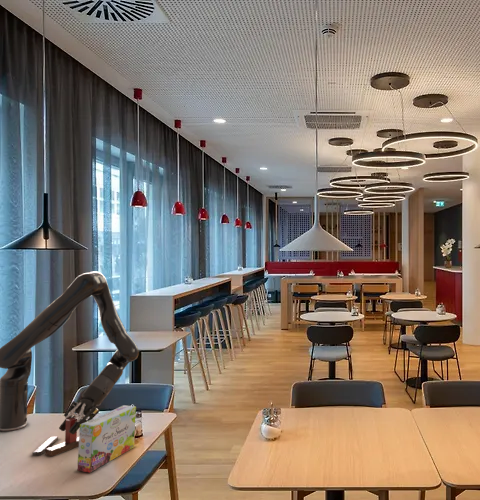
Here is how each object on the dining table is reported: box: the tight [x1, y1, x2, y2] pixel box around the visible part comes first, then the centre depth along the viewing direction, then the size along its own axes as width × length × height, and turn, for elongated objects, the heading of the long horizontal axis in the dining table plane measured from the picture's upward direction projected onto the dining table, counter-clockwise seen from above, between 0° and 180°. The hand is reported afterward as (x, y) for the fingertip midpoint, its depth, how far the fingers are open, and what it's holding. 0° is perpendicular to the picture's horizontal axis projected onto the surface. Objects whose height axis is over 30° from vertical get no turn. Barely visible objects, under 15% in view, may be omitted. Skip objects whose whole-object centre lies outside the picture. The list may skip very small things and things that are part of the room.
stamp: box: [44, 418, 79, 457], centre depth 167 cm, size 4×16×10 cm, turn 156°
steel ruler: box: [32, 436, 59, 457], centre depth 166 cm, size 2×14×1 cm, turn 11°
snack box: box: [77, 404, 137, 473], centre depth 158 cm, size 21×6×15 cm, turn 168°
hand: (66, 431), depth 165 cm, fingers open, 5 cm apart
